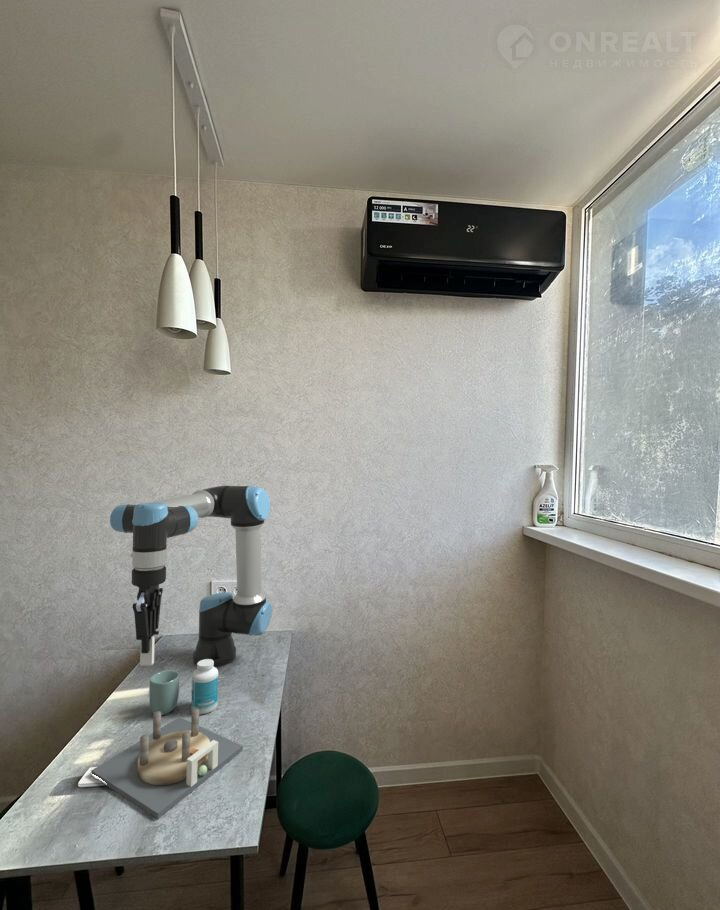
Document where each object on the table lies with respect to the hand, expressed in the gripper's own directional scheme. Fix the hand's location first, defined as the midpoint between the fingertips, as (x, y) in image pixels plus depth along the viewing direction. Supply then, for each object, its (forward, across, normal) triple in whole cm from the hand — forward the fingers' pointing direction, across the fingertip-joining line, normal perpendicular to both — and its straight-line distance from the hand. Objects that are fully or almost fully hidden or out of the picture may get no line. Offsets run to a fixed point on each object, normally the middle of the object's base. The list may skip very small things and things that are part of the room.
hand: (147, 663), depth 103 cm
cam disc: (+23, +1, +7) cm, 24 cm away
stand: (+24, 0, +6) cm, 25 cm away
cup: (+24, -22, -3) cm, 33 cm away
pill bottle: (+24, -22, +8) cm, 34 cm away
